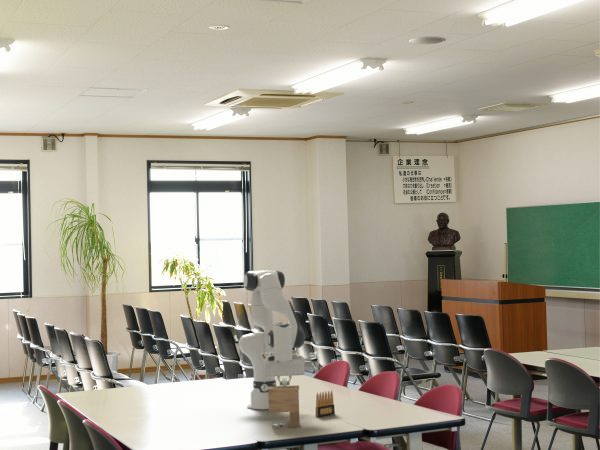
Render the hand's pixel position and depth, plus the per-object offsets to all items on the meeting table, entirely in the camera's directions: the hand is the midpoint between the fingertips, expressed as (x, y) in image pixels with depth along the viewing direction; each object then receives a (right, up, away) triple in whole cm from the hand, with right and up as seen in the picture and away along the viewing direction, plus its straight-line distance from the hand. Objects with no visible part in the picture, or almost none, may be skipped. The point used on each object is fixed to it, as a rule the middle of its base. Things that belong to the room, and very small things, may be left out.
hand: (284, 385), depth 434 cm
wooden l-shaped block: (0, -16, -16) cm, 23 cm away
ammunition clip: (+20, -16, +6) cm, 26 cm away
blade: (0, -2, 0) cm, 2 cm away
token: (-3, -17, -16) cm, 23 cm away
